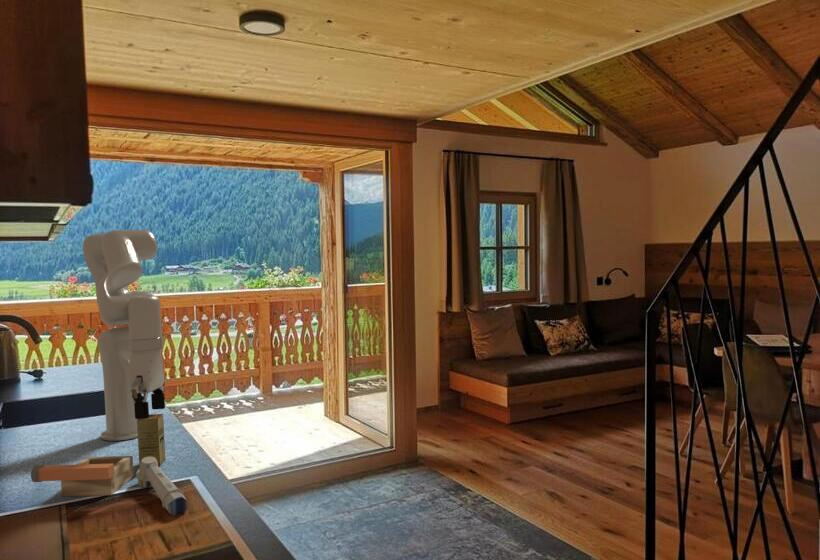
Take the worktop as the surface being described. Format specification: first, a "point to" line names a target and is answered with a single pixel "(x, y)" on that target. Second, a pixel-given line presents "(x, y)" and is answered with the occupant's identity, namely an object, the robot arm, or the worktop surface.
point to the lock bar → (72, 472)
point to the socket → (101, 486)
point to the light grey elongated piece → (161, 486)
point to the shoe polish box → (151, 438)
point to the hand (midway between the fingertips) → (150, 413)
